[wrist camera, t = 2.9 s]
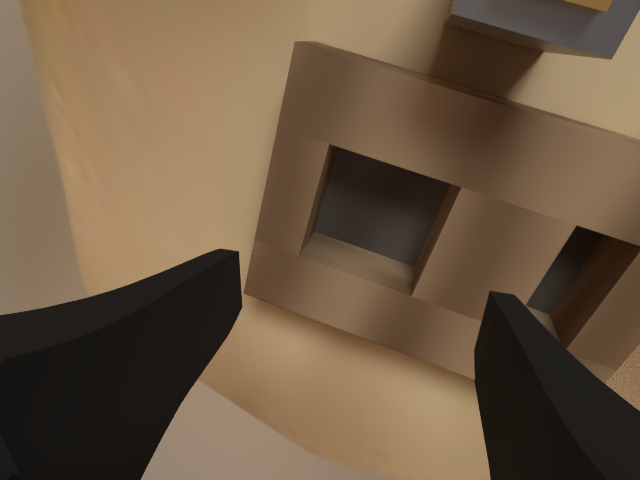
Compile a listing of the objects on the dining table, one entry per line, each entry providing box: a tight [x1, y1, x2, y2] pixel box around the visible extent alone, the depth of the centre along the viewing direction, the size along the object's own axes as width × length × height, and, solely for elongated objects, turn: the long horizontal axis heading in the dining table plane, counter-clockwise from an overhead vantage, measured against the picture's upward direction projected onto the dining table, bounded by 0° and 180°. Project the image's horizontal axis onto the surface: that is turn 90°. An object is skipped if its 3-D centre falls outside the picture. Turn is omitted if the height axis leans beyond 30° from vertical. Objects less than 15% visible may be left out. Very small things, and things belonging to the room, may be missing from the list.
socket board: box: [244, 41, 640, 384], centre depth 19 cm, size 17×12×3 cm
